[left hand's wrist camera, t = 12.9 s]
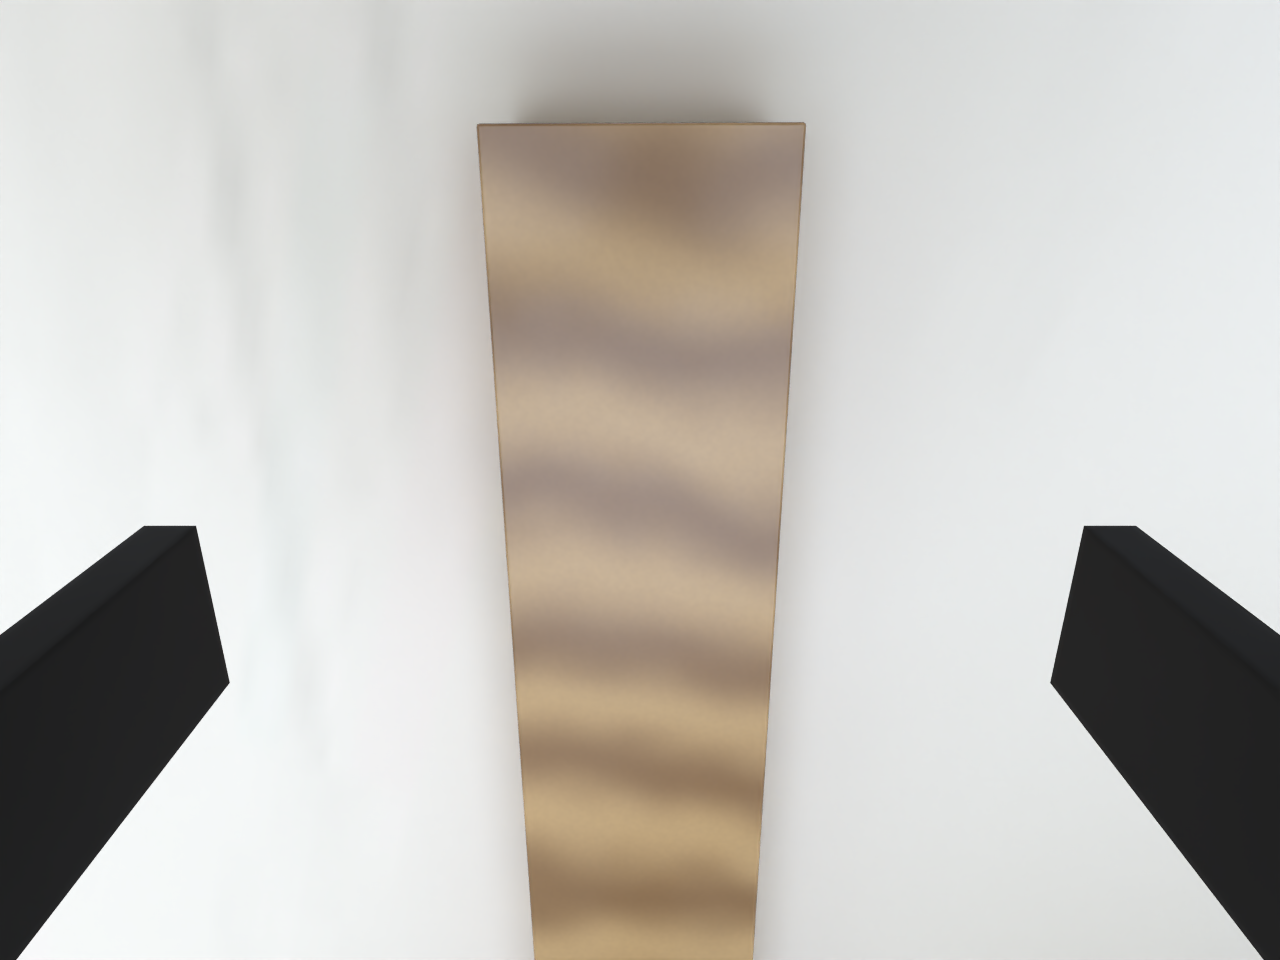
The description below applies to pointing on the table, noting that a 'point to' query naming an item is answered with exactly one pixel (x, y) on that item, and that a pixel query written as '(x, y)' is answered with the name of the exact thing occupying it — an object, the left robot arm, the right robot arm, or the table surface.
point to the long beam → (642, 513)
